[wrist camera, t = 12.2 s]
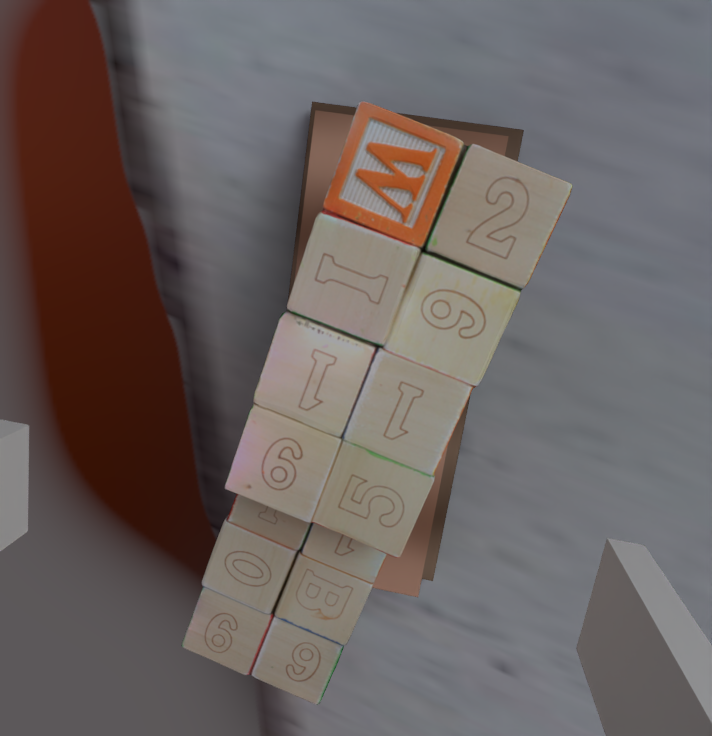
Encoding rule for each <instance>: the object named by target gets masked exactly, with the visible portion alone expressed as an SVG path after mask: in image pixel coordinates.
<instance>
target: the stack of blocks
mask: <svg viewBox="0 0 712 736" xmlns="http://www.w3.org/2000/svg"><path fill="white" fill-rule="evenodd" d="M571 190H572V184H571V183H569V182H566V181H564V180H561V179H559V178H556V177H554V176H551V175H549V174H546V173H544V172H541V171H539V170H536V169H534V168H532V167H529V166H527V165H524V164H522V163H519V162H517V161H515V160H512V159H510V158H507V157H505V156H503V155H500V154H498V153H495V152H493V151H491V150H488V149H486V148H483V147H481V146H479V145H476V144H471V145H469V146H466V145H464V143H463V141H461V140H460V139H458V138H456V137H454V136H452V135H449V134H447V133H444V132H442V131H439V130H437V129H434V128H432V127H429V126H427V125H424V124H422V123H419V122H417V121H414V120H412V119H409V118H407V117H404V116H402V115H399V114H397V113H394V112H392V111H389V110H386V109H384V108H381V107H379V106H376V105H374V104H371V103H367V102H364V101H361V102H359V104H358V107H357V109H356V112H355V115H354V117H353V120H352V123H351V126H350V129H349V132H348V135H347V138H346V140H345V143H344V146H343V149H342V152H341V155H340V158H339V161H338V163H337V166H336V169H335V171H334V175H333V177H332V180H331V183H330V186H329V188H328V191H327V194H326V197H325V200H324V204H323V210H322V211H321V212H320V213H319V214H318V215H317V217H316V219H315V222H314V225H313V228H312V231H311V234H310V237H309V239H308V242H307V246H306V249H305V252H304V255H303V258H302V261H301V264H300V267H299V270H298V273H297V276H296V279H295V282H294V285H293V288H292V291H291V294H290V297H289V300H288V303H287V311H286V312H284V313H283V314H282V315H281V317H280V318H279V321H278V324H277V327H276V330H275V332H274V335H273V339H272V342H271V346H270V349H269V351H268V354H267V357H266V360H265V363H264V366H263V369H262V372H261V375H260V378H259V381H258V384H257V387H256V390H255V393H254V404H253V406H252V408H251V410H250V412H249V414H248V417H247V420H246V423H245V426H244V429H243V432H242V435H241V438H240V442H239V444H238V447H237V450H236V453H235V456H234V459H233V462H232V465H231V468H230V471H229V475H228V478H227V480H226V483H225V489H226V490H229V491H231V492H234V493H237V495H236V497H235V500H234V503H233V505H232V508H231V511H230V513H229V515H228V516H227V518H226V519H225V520H224V522H223V525H222V528H221V530H220V533H219V535H218V538H217V541H216V543H215V546H214V548H213V551H212V554H211V557H210V560H209V562H208V565H207V568H206V571H205V574H204V576H203V579H202V585H203V589H202V591H201V594H200V596H199V599H198V601H197V604H196V607H195V610H194V612H193V615H192V618H191V620H190V623H189V626H188V628H187V631H186V634H185V637H184V639H183V642H182V647H184V648H186V649H188V650H190V651H192V652H194V653H197V654H199V655H201V656H204V657H206V658H208V659H211V660H213V661H215V662H217V663H219V664H222V665H224V666H226V667H229V668H230V669H233V670H235V671H237V672H239V673H242V674H244V675H249V674H250V675H252V676H254V677H255V678H257V679H259V680H261V681H263V682H266V683H268V684H270V685H272V686H275V687H277V688H279V689H281V690H284V691H286V692H289V693H291V694H293V695H295V696H298V697H300V698H302V699H305V700H307V701H309V702H312V703H314V704H316V705H318V704H319V703H320V701H321V699H322V697H323V694H324V692H325V690H326V688H327V685H328V683H329V681H330V679H331V676H332V674H333V672H334V670H335V668H336V665H337V663H338V661H339V658H340V655H341V653H342V650H343V647H344V645H346V644H347V643H348V641H349V639H350V636H351V634H352V632H353V630H354V627H355V625H356V623H357V620H358V618H359V616H360V614H361V611H362V609H363V607H364V605H365V603H366V600H367V598H368V596H369V594H370V591H371V589H372V586H373V584H374V582H375V580H376V579H377V577H378V575H379V572H380V570H381V568H382V566H383V563H384V561H385V559H386V556H387V554H388V555H390V556H393V557H395V558H400V557H401V554H402V552H403V550H404V548H405V545H406V543H407V541H408V539H409V536H410V534H411V532H412V530H413V527H414V525H415V523H416V521H417V519H418V516H419V514H420V512H421V509H422V507H423V505H424V502H425V500H426V498H427V496H428V494H429V491H430V489H431V487H432V485H433V483H434V479H435V471H436V469H437V467H438V465H439V463H440V461H441V459H442V457H443V454H444V452H445V450H446V448H447V445H448V443H449V441H450V439H451V437H452V434H453V432H454V430H455V427H456V425H457V423H458V421H459V419H460V417H461V414H462V412H463V410H464V408H465V406H466V403H467V401H468V399H469V396H470V394H471V391H472V389H473V388H475V387H476V386H478V385H479V384H480V382H481V380H482V378H483V376H484V374H485V372H486V370H487V367H488V365H489V363H490V361H491V359H492V356H493V354H494V352H495V350H496V348H497V345H498V343H499V341H500V339H501V336H502V334H503V332H504V330H505V328H506V326H507V324H508V322H509V320H510V317H511V315H512V313H513V311H514V309H515V307H516V305H517V303H518V301H519V297H520V293H521V290H522V289H523V288H524V287H525V286H526V285H527V284H528V282H529V280H530V278H531V276H532V274H533V271H534V269H535V267H536V265H537V263H538V261H539V259H540V257H541V255H542V253H543V251H544V248H545V246H546V244H547V242H548V240H549V238H550V236H551V234H552V232H553V230H554V228H555V226H556V223H557V221H558V219H559V217H560V215H561V213H562V211H563V209H564V206H565V204H566V202H567V200H568V198H569V196H570V193H571Z"/></svg>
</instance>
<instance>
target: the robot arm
mask: <svg viewBox="0 0 712 736" xmlns="http://www.w3.org/2000/svg"><path fill="white" fill-rule="evenodd" d="M28 467H29V425H26V424H21V423H15V422H10V421H5V420H0V551H1V550H3V549H4V548H5V547H7V546H8V545H10V544H11V543H12V542H14V541H15V540H16V539H18V538H19V537H21V536H22V535H23V534H25V533H26V532H27V531H28V472H29V470H28ZM576 649H577V652H578V655H579V658H580V661H581V664H582V667H583V670H584V673H585V676H586V679H587V682H588V684H589V687H590V690H591V693H592V696H593V699H594V702H595V705H596V708H597V711H598V714H599V717H600V720H601V723H602V726H603V729H604V732H605V735H606V736H712V645H711V644H710V642H709V641H708V639H707V638H706V636H705V635H704V633H703V632H702V630H701V629H700V627H699V626H698V624H697V623H696V621H695V620H694V618H693V617H692V615H691V614H690V612H689V611H688V609H687V608H686V606H685V605H684V603H683V602H682V601H681V599H680V598H679V596H678V595H677V593H676V592H675V590H674V589H673V587H672V586H671V584H670V583H669V581H668V580H667V578H666V577H665V575H664V574H663V572H662V571H661V569H660V568H659V566H658V565H657V563H656V562H655V560H654V559H653V557H652V556H651V554H650V553H649V551H648V550H647V548H646V547H645V545H640V544H635V543H630V542H625V541H620V540H615V539H609V538H607V540H606V544H605V548H604V551H603V555H602V558H601V562H600V566H599V569H598V573H597V576H596V580H595V583H594V587H593V591H592V594H591V598H590V601H589V605H588V609H587V612H586V616H585V619H584V623H583V626H582V630H581V634H580V637H579V641H578V644H577V648H576Z"/></svg>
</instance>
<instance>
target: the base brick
mask: <svg viewBox="0 0 712 736" xmlns="http://www.w3.org/2000/svg"><path fill="white" fill-rule="evenodd" d="M356 109H357V108H355V107H348V106H340V105H333V104H325V103H318V102H312V107H311V116H310V124H309V132H308V140H307V149H306V157H305V165H304V173H303V181H302V190H301V198H300V206H299V214H298V223H297V231H296V239H295V247H294V255H293V264H292V272H291V280H290V288H289V296H288V300H289V297H290V294H291V291H292V288H293V285H294V282H295V279H296V276H297V273H298V270H299V267H300V264H301V261H302V258H303V255H304V252H305V249H306V246H307V242H308V239H309V237H310V234H311V231H312V228H313V225H314V222H315V219H316V217H317V215H318V214H319V213H320V212H321V211H322V210H323V204H324V200H325V197H326V194H327V191H328V188H329V186H330V183H331V180H332V177H333V175H334V171H335V169H336V166H337V163H338V161H339V158H340V155H341V152H342V149H343V146H344V143H345V140H346V138H347V135H348V132H349V129H350V126H351V123H352V120H353V117H354V115H355V112H356ZM397 114H399V115H402V116H404V117H407V118H409V119H412V120H414V121H417V122H419V123H422V124H424V125H427V126H429V127H432V128H434V129H437V130H439V131H442V132H444V133H447V134H449V135H452V136H454V137H456V138H458V139H460V140H461V141H463V143H464V145H466V146H469V145H471V144H476V145H479V146H481V147H483V148H486V149H488V150H491V151H493V152H495V153H498V154H500V155H503V156H505V157H507V158H510V159H512V160H515V161H518V156H519V151H520V146H521V141H522V136H523V131H524V130H520V129H512V128H505V127H497V126H490V125H482V124H475V123H467V122H460V121H452V120H445V119H438V118H430V117H423V116H415V115H408V114H400V113H397ZM469 399H470V396H469ZM469 399H468V401H467V403H466V406H465V408H464V410H463V412H462V414H461V417H460V419H459V421H458V423H457V425H456V427H455V430H454V432H453V434H452V437H451V439H450V441H449V443H448V445H447V448H446V450H445V452H444V454H443V457H442V459H441V461H440V463H439V465H438V467H437V469H436V471H435V479H434V483H433V485H432V487H431V489H430V491H429V494H428V496H427V498H426V500H425V502H424V505H423V507H422V509H421V512H420V514H419V516H418V519H417V521H416V523H415V525H414V527H413V530H412V532H411V534H410V536H409V539H408V541H407V543H406V545H405V548H404V550H403V552H402V554H401V557H400V558H395V557H393V556H390V555H388V554H387V556H386V559H385V561H384V563H383V566H382V568H381V570H380V572H379V575H378V577H377V579H376V580H375V582H374V584H373V586H372V588H376V589H381V590H386V591H390V592H395V593H400V594H405V595H410V596H414V597H418V595H419V590H420V585H421V580H422V579H426V580H431V581H433V578H434V573H435V568H436V563H437V558H438V553H439V548H440V543H441V538H442V533H443V528H444V523H445V518H446V513H447V508H448V503H449V498H450V493H451V488H452V483H453V479H454V474H455V469H456V464H457V459H458V454H459V449H460V444H461V439H462V434H463V429H464V424H465V419H466V414H467V409H468V404H469Z"/></svg>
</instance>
